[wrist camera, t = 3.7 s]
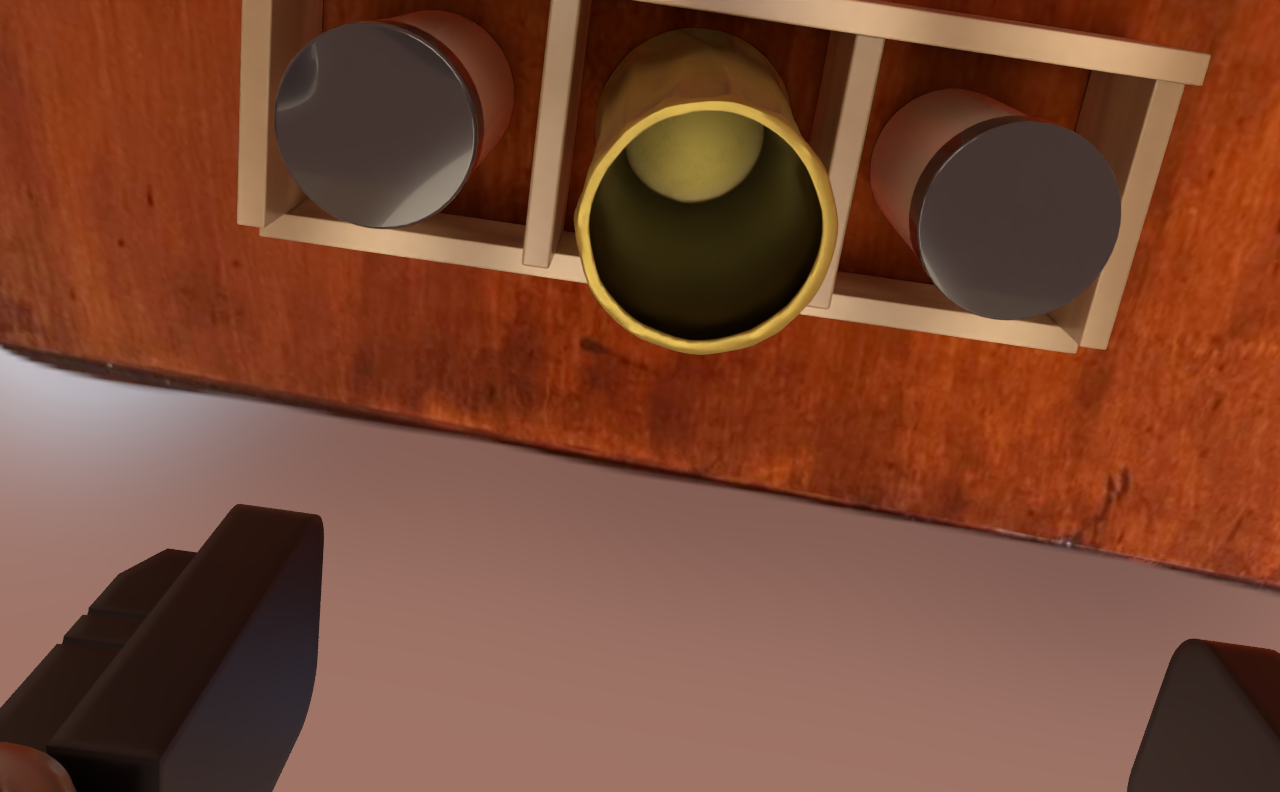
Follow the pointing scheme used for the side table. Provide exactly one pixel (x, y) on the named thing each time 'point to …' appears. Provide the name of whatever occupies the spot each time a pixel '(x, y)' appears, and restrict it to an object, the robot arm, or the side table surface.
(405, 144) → the spice jar left
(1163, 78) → the rack
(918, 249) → the spice jar right
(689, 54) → the vase
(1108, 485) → the side table surface
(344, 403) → the side table surface
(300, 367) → the side table surface
